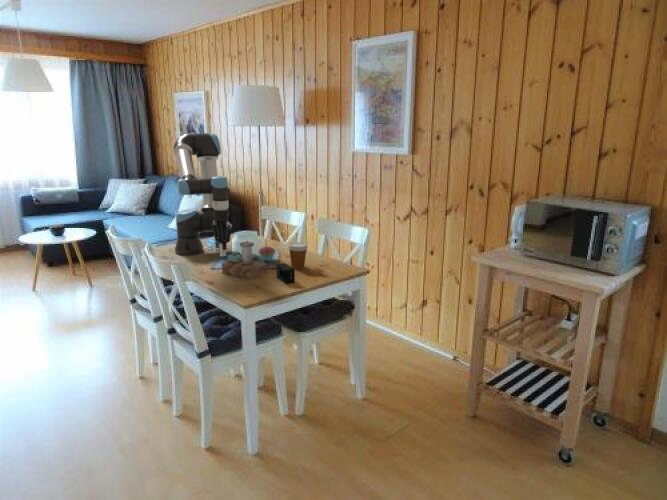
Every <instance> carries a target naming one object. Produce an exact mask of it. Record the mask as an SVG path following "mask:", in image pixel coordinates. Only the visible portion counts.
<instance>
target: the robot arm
mask: <svg viewBox="0 0 667 500" xmlns="http://www.w3.org/2000/svg"><path fill="white" fill-rule="evenodd" d="M221 154H222V149H221V142H220V140H219V137H218V135H217V134H215V133H209V132H208V133H205V132H202V133H201V132H200V133H191V132H190V133H184V134H183V135H181V136H179V137H178V138H177V139H176V141H175V142H174V144H173V155H174V157H176V161H177V166H178V172H179V173H178V174H179V178H180V179H177V183H176V184H177V191H178V194H179V195H181V196H182V195H183V196H185V195H186V196H192V195H193V196H194V195H202V201H203V205H202V206H201V208H200V211H199V210H198V209H197V208H186V209H182V210H180V211H178V212H177V213H175V223H176V225H175V226H176V242H175V243H176V244H175V247H174V253H175V254H177V255H180V256H181V255H182V256H189V255H190V256H191V255H192V256H193V255H198V254H201V253H203V252H204V246H203V242H202V240H201V238H200V233H212V232H213V236H214V241H215V242H217V243H218V249H219V256H220V257H225V256H227V248H228V247H227V244H228V243H230V241H231V234H232V228H233V226H234V224H232V223H231V222H230V220H229V216H230V209H229V208H230V206H229V205H230V204H229V186H228V185H229V182H228V177H227V176H222V175H218V171H217V168H218V167H217V161H218V159H219V156H221ZM193 156H196V160H198V161H199V164H200V165H199V166H200V177H201V178H197V175H196V170H195V166H194V160H193Z"/></svg>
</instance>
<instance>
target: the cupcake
mask: <svg viewBox="0 0 667 500" xmlns="http://www.w3.org/2000/svg"><path fill="white" fill-rule="evenodd" d="M258 253H259V254H260V256H261V259H262V261H264V260H266V261H265V262H268V261H267V260H271V259H272V260H273V257H274V255H275V253H276V250H275V248H273V247H271V246H268V240H267V239H265V246H263V247H261V248H260V249H259V250H258ZM272 260H271V261H272Z"/></svg>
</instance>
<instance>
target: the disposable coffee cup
mask: <svg viewBox="0 0 667 500" xmlns="http://www.w3.org/2000/svg"><path fill="white" fill-rule="evenodd" d="M307 249H308V246H307V243H305V242H292V243H289V245H288V250H289V257H290V266H291V267H292V268H294V269H295V270H303V269H304V268H305V263H306V256H307Z"/></svg>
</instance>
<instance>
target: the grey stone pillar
mask: <svg viewBox="0 0 667 500" xmlns="http://www.w3.org/2000/svg"><path fill="white" fill-rule="evenodd" d="M254 245H255V243H254V242H248V241H246V242H242V243H240V246H241V247H242V255H241V256H242V260H243V265H246V266H249V265H252V260H253V249H252V247H254Z"/></svg>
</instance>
